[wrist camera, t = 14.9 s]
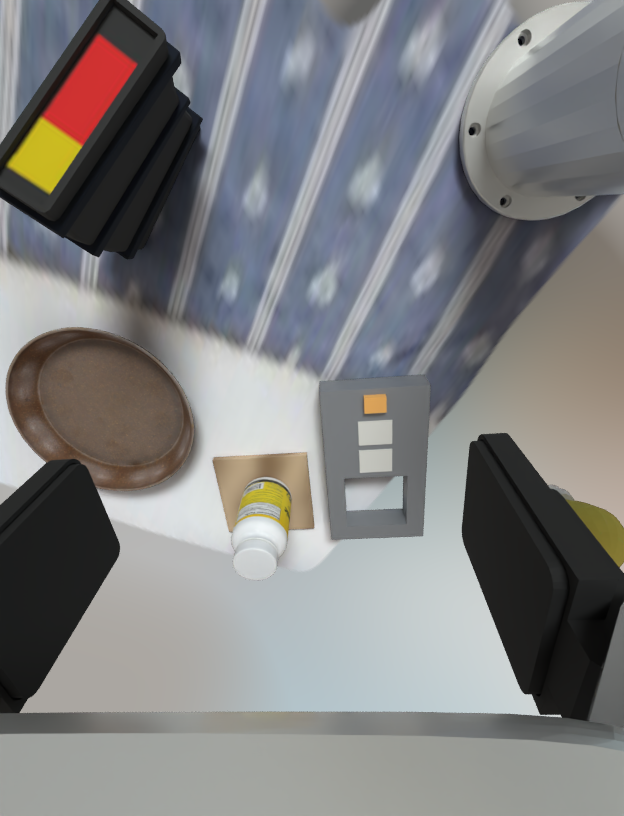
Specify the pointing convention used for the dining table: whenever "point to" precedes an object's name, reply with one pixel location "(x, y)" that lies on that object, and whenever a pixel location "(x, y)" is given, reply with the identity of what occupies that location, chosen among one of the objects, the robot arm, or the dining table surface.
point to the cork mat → (283, 467)
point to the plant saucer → (100, 407)
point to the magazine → (102, 135)
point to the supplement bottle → (261, 528)
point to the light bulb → (599, 525)
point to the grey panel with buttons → (376, 450)
